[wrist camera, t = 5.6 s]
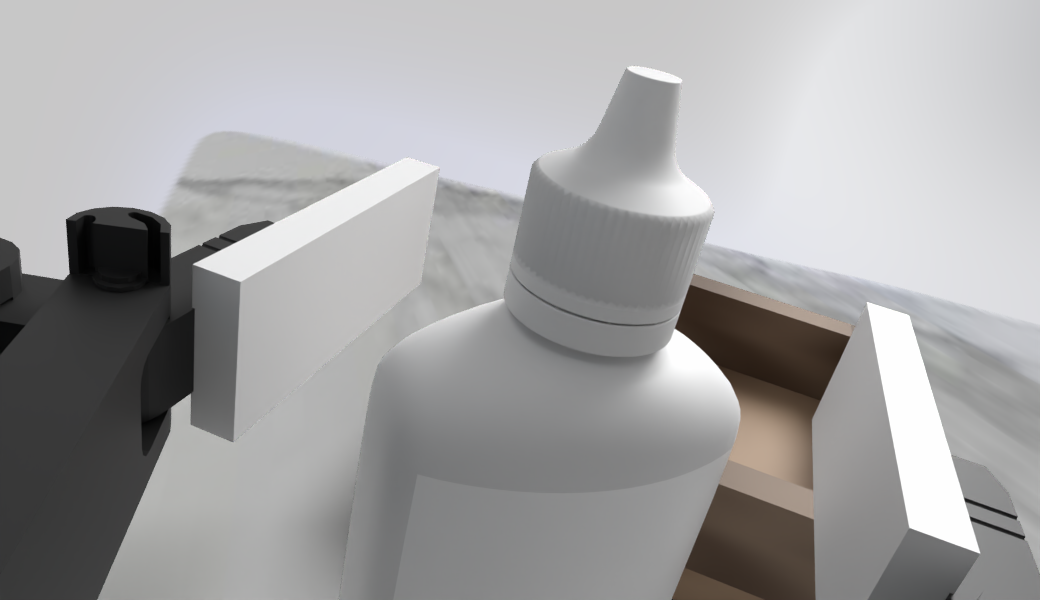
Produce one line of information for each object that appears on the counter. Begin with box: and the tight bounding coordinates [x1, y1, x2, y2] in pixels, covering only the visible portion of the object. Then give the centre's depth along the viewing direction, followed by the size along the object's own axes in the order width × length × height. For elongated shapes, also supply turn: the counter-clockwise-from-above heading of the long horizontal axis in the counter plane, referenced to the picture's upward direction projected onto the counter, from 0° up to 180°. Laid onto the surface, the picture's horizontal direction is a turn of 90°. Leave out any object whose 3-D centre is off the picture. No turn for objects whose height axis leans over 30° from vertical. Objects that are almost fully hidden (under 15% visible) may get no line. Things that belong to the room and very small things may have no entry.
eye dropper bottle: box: [339, 66, 740, 600], centre depth 12 cm, size 4×6×12 cm
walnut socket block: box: [672, 274, 855, 600], centre depth 22 cm, size 11×11×4 cm
